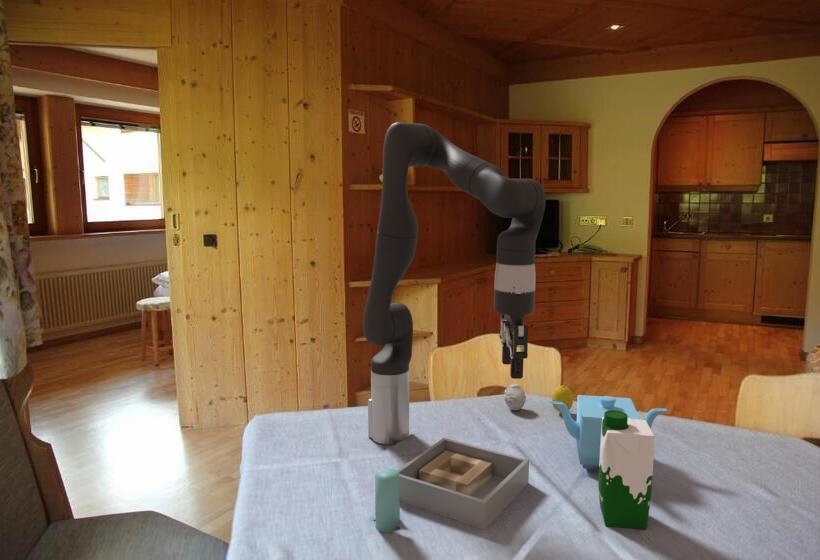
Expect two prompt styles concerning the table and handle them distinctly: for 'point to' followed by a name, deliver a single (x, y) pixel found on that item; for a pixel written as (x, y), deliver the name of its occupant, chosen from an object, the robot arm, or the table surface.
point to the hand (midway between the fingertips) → (511, 370)
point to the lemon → (562, 397)
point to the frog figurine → (514, 397)
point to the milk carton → (625, 470)
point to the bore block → (449, 461)
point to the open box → (471, 510)
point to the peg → (387, 500)
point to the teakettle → (596, 423)
